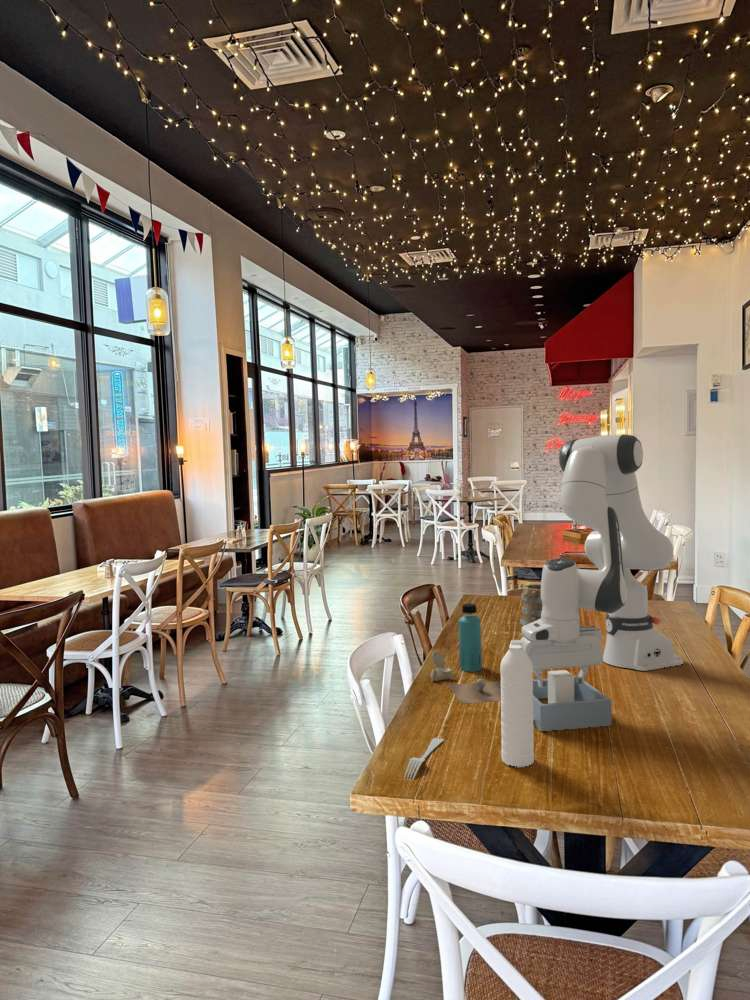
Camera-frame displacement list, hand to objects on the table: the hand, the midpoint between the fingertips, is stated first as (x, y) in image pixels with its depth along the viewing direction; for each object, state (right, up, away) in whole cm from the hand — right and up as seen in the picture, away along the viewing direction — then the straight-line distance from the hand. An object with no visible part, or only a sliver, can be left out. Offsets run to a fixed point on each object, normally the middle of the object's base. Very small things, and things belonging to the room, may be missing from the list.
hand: (560, 685), depth 162 cm
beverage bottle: (-17, -6, +32) cm, 37 cm away
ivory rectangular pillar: (0, -6, 0) cm, 6 cm away
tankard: (+13, -2, +81) cm, 82 cm away
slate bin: (0, -7, 0) cm, 7 cm away
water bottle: (-15, -9, -24) cm, 30 cm away
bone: (-26, -6, +25) cm, 36 cm away
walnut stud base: (-17, -7, +13) cm, 22 cm away
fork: (-34, -10, -21) cm, 41 cm away
